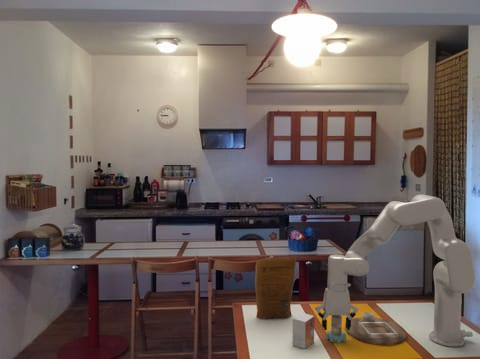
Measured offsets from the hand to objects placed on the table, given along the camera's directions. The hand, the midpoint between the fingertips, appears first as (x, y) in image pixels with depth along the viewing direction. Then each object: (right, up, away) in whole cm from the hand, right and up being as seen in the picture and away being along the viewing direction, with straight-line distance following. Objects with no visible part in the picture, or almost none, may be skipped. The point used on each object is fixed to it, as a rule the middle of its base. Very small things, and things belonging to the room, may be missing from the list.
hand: (336, 328), depth 162 cm
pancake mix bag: (-23, -3, +21) cm, 31 cm away
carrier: (+18, -4, +7) cm, 19 cm away
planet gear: (0, -4, 0) cm, 4 cm away
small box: (-14, -4, -4) cm, 15 cm away
